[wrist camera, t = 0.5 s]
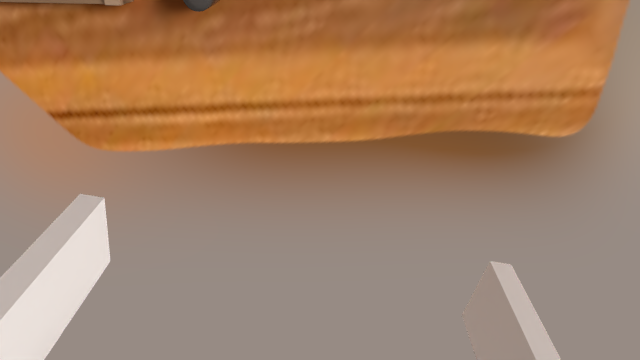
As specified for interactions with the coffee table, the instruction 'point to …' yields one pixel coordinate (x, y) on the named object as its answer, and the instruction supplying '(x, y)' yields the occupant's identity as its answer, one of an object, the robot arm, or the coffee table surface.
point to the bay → (75, 1)
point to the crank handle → (200, 4)
